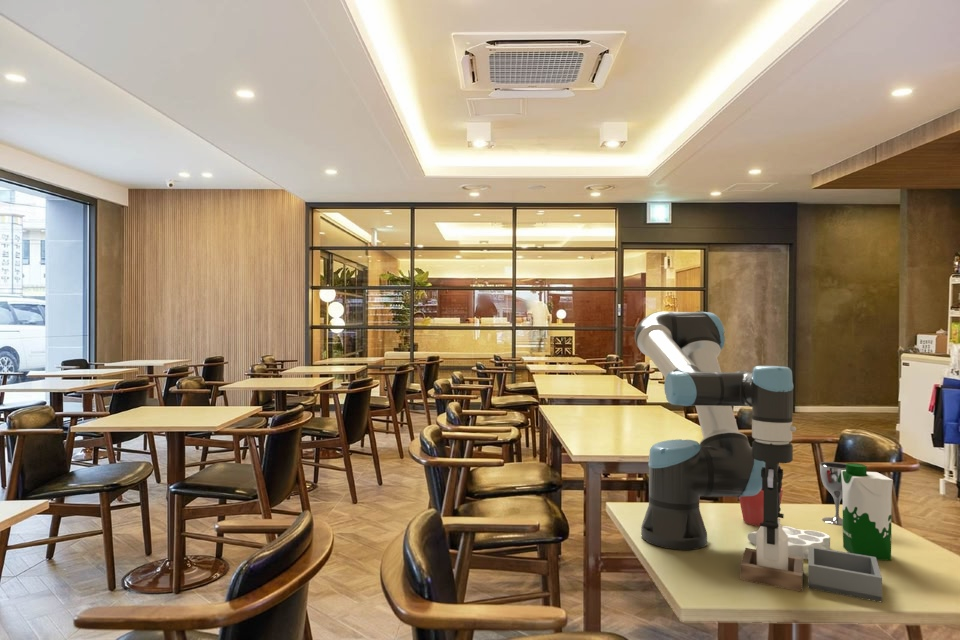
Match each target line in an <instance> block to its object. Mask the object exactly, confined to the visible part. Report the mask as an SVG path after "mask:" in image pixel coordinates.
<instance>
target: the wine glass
mask: <svg viewBox="0 0 960 640" xmlns="http://www.w3.org/2000/svg"><path fill="white" fill-rule="evenodd" d="M846 464H847V463H844V462H837V461H823V462H822V461H821V462H820V463H819V470H820V479H821V482H822V485H823V486H824V488H825V489H826V490H827V491H828V492H829V493H830V494H831V496H832V498H833V501H834V506H835V515H834V516H825V517H822V518H821V520H822V521H823V522H824V523H826V524H831V525H835V526H842V527H843V517H840V504H841V500H842V499H843V489H842V477H841V470H846Z"/></svg>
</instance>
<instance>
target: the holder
mask: <svg viewBox="0 0 960 640" xmlns="http://www.w3.org/2000/svg"><path fill="white" fill-rule="evenodd" d="M739 573H740V574H739V577H740V578H739V579H740V580H741V581H746V582H749V583H750V582H751V583H756V584H760V585H764V586H771V587H776V588H781V589H786V590H791V591H796V592H802V593H803V585H804V584H803V582H804V581H803V580H804V559H803V558H802V557H796V556H791V555H788V571H786V570H781V569H775V568H770V567H764V566H759V565H757V551H756V548H755V549H754V548H751V547H745V549H744V552H743V555H742V558H741V561H740V571H739Z"/></svg>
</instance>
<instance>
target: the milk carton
mask: <svg viewBox="0 0 960 640" xmlns="http://www.w3.org/2000/svg"><path fill="white" fill-rule="evenodd" d="M845 464H846V470H841V477H842V489H843V497H842V519H843V526H842V547H843V548H844V549H845V550H846V552H848V553H854V554H860V555H866V556H872V557H876V559H877V561H879V560H880V561H890V562H891V561H892V491H893V481H894V480H893V479H892V478H890V477H888V476H886V475H884V474H882V473H879V472H877V471H867V465H865V464H861V463H853V462H849V463H845Z"/></svg>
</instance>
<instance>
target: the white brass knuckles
mask: <svg viewBox="0 0 960 640" xmlns="http://www.w3.org/2000/svg"><path fill="white" fill-rule="evenodd" d="M781 527H782V529H783V530H784V532H785V533H786V535H787V536H788V555H791V556H796V557H802V558H803V560H808V552H809V546H811V547H817V548H823V549H829V550H831V537H830V535H828V534H827V533H825V532H822V531H818V530H811V529H805V530H804V529H800V528H799V529H798V528H794V527H792V526H788V525H787V526H786V525H783V526H782V525H781ZM756 532H757V531H752V532H749V533H748V534H747V539H748V541H749V542H750V543H751V544H752V545H755V546H756Z"/></svg>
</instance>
